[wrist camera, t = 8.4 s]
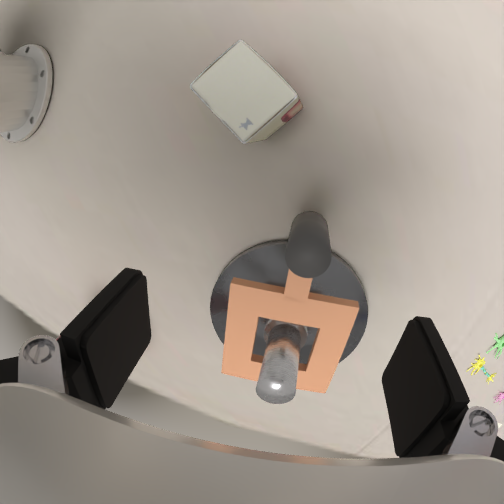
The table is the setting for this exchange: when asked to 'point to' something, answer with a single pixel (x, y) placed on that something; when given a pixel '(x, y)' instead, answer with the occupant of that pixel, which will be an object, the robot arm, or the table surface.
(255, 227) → the table surface
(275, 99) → the small box
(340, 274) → the post base
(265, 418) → the table surface
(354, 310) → the tan handled frame
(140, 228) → the table surface
